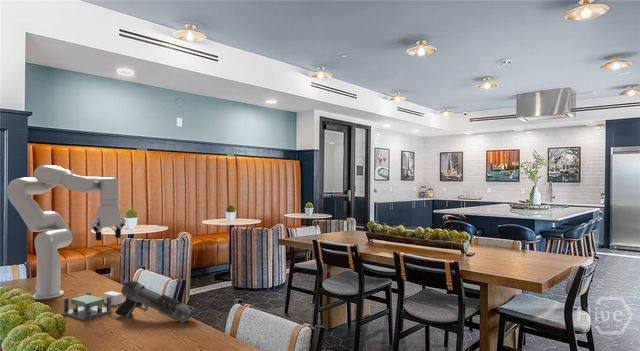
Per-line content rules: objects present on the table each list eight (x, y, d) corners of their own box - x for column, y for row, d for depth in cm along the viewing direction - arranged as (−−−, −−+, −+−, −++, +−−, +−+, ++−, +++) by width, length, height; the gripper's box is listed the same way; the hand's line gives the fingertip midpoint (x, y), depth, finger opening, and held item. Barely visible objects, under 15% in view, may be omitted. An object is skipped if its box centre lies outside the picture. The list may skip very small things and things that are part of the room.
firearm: (180, 344, 158) (192, 309, 157) (110, 311, 164) (121, 278, 163) (185, 340, 162) (197, 306, 161) (117, 308, 168) (128, 275, 167)
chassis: (62, 313, 168) (62, 298, 168) (90, 305, 178) (90, 291, 178) (84, 320, 160) (84, 304, 160) (112, 311, 171) (112, 296, 171)
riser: (103, 302, 183) (103, 293, 183) (111, 300, 186) (111, 291, 186) (114, 305, 179) (114, 295, 179) (122, 303, 182) (122, 293, 182)
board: (71, 303, 169) (71, 298, 169) (87, 299, 175) (87, 294, 175) (87, 308, 163) (87, 303, 163) (104, 303, 169) (104, 298, 169)
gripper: (120, 202, 200) (120, 236, 199) (86, 203, 184) (85, 240, 184) (130, 202, 196) (129, 237, 196) (96, 204, 181) (95, 242, 181)
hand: (108, 238), depth 190 cm, fingers open, 9 cm apart
